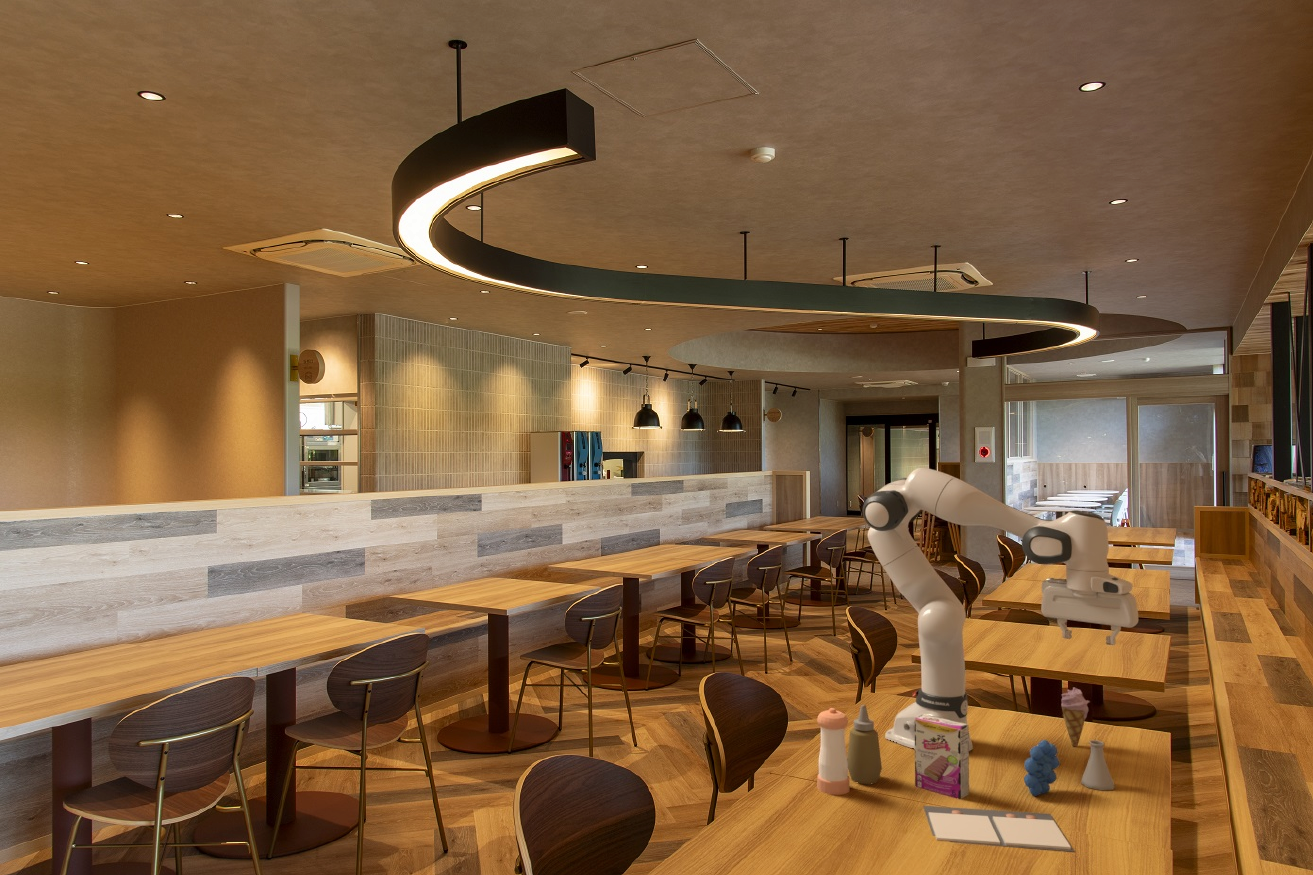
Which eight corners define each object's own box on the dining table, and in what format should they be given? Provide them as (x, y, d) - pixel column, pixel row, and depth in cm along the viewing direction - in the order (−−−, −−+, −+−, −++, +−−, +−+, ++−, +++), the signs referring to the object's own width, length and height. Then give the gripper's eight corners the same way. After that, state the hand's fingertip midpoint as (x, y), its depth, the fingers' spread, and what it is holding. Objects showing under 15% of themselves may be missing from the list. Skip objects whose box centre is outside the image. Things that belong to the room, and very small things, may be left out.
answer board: (934, 845, 168) (934, 838, 168) (923, 809, 185) (923, 803, 185) (1074, 855, 163) (1074, 848, 163) (1050, 817, 180) (1050, 811, 180)
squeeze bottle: (883, 777, 203) (882, 702, 203) (880, 790, 195) (879, 712, 195) (849, 773, 205) (847, 699, 206) (845, 786, 198) (844, 709, 198)
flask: (1119, 792, 193) (1118, 748, 193) (1085, 790, 194) (1084, 746, 194) (1109, 780, 200) (1108, 737, 200) (1076, 778, 201) (1075, 736, 201)
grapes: (1040, 782, 199) (1039, 731, 199) (1067, 791, 193) (1066, 739, 194) (1009, 793, 193) (1008, 740, 193) (1036, 803, 187) (1035, 749, 187)
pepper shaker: (852, 788, 196) (851, 705, 197) (845, 800, 190) (844, 714, 190) (821, 783, 199) (820, 702, 200) (814, 795, 193) (812, 710, 193)
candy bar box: (914, 789, 196) (913, 718, 196) (923, 782, 199) (922, 713, 200) (961, 802, 188) (960, 728, 188) (970, 795, 192) (969, 723, 192)
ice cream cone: (1091, 744, 224) (1090, 687, 224) (1089, 751, 219) (1088, 693, 219) (1063, 739, 227) (1062, 684, 228) (1060, 746, 222) (1059, 689, 222)
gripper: (1036, 578, 200) (1037, 636, 200) (1131, 587, 186) (1132, 650, 185) (1046, 575, 205) (1047, 632, 204) (1140, 584, 190) (1141, 645, 190)
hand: (1088, 641), depth 195 cm, fingers open, 8 cm apart
